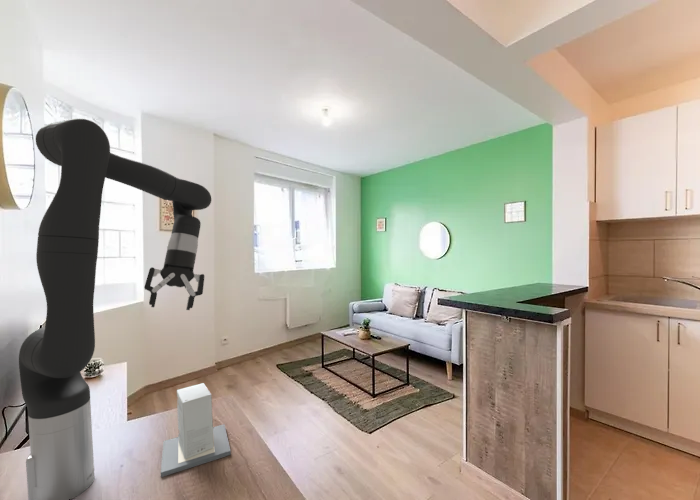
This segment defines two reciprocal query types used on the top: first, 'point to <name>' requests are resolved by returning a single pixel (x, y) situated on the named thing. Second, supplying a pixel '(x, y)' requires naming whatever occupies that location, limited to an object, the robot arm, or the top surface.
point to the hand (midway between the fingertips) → (170, 308)
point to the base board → (177, 462)
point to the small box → (195, 420)
